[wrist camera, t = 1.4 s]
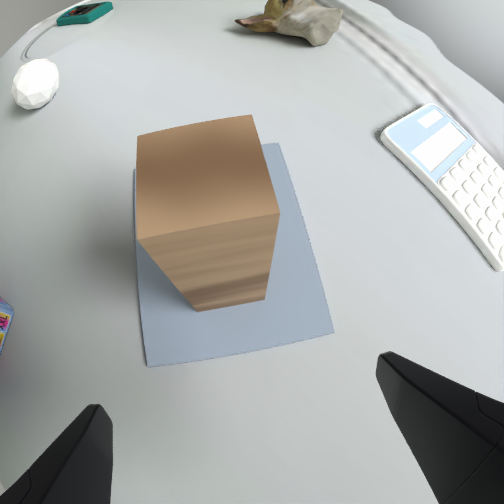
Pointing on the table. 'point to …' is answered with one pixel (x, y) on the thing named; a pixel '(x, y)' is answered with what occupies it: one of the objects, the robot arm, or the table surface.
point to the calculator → (454, 174)
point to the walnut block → (208, 210)
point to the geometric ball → (35, 83)
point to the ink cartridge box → (4, 320)
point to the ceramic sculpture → (296, 20)
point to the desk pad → (245, 315)
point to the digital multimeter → (84, 13)
